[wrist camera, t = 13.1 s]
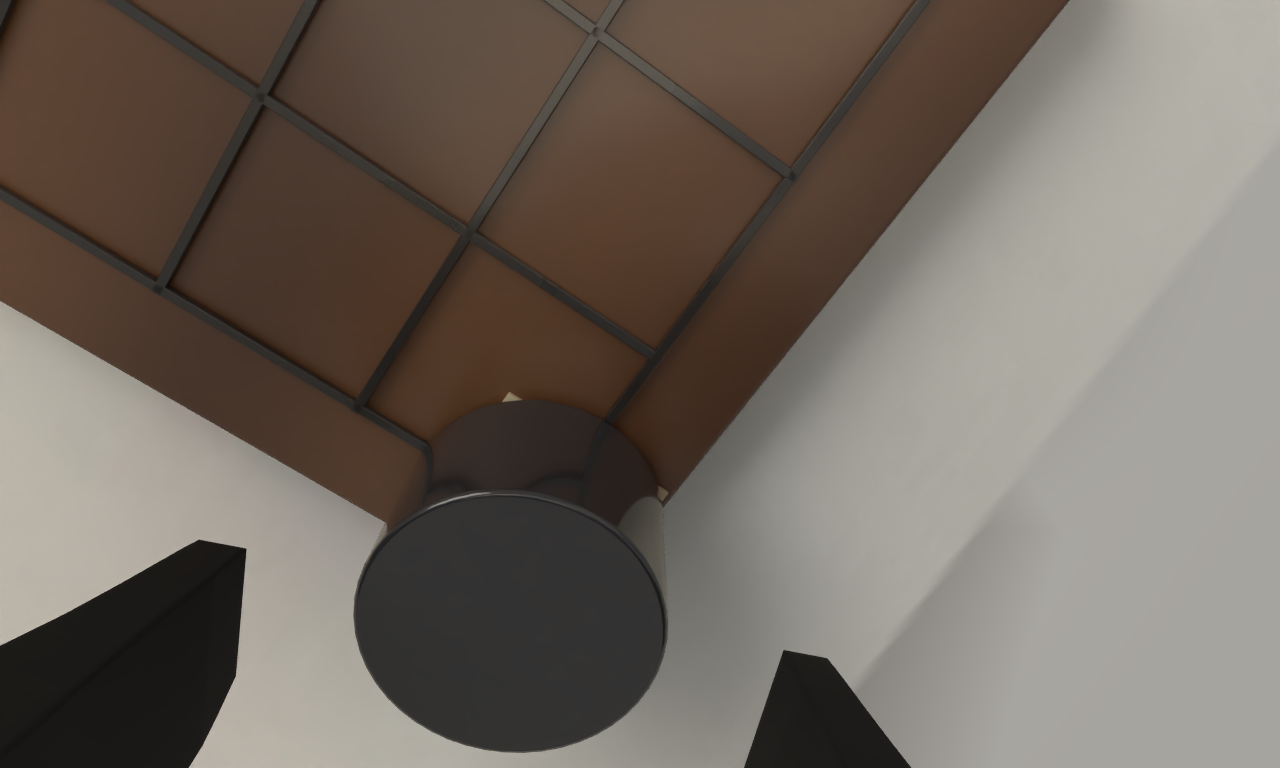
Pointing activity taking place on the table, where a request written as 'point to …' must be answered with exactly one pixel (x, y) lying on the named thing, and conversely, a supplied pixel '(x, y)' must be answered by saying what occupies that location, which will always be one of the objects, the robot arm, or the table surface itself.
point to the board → (467, 201)
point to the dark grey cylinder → (518, 581)
